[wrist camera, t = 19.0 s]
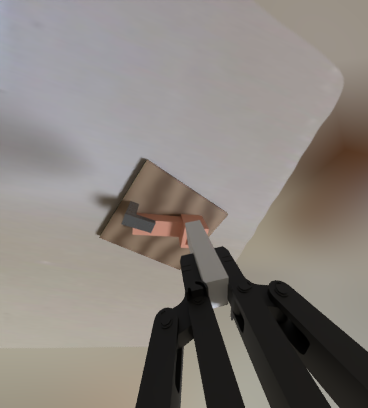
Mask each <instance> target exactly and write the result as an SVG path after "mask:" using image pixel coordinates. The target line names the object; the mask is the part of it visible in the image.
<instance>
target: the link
mask: <svg viewBox="0 0 368 408" xmlns="http://www.w3.org/2000/svg"><path fill="white" fill-rule="evenodd" d="M137 215H140V216H143V217H146V218H149V219H152V220H155V221H156V224H155V226H154V228H153V230H152V232H151V233H149V232H145V231H142V230H139V229H135V228H133V233H132V235H150V236H169V237H179V242H180V247H181V248H189V246H188V241H187V234H186V227H185V223H187V222H192V221H198V220H200V221H201V223H202V225H203V227H204V229H205V231H206V233H207V234H208V231H209V228H208V226H207V224H206V222H205V221H204V219H203V217H202V216H200V215H188V214H181V216H170V215H157V214H145V213H137Z"/></svg>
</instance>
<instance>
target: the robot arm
mask: <svg viewBox="0 0 368 408" xmlns="http://www.w3.org/2000/svg"><path fill="white" fill-rule="evenodd" d="M185 227H186V234H187V241H188V246H189V250H190V254H187V255H182V256H181V259H180V265H181V271H182V276H183V282H184V287H185V297H184V299H183V301H182V302H181V303H180V304H179V305H177V306H176V307H174V308H173V309H172V308H164V309H162V310H160V311H159V312H158V314H157V315H156V317H155V320H154V324H153V328H152V333H151V338H150V342H149V347H148V352H147V356H146V361H145V366H144V371H143V375H142V380H141V384H140V389H139V394H138V398H137V403H136V407H135V408H180V404H181V387H182V369H183V349H184V346H185V345H186V344H187V343H189V341H191V340H192V339H194V341H195V347H196V352H197V357H198V363H199V368H200V374H201V379H202V384H203V389H204V395H205V400H206V405H207V408H245V406H244V403H243V400H242V397H241V394H240V391H239V387H238V384H237V381H236V378H235V375H234V372H233V369H232V366H231V363H230V360H229V357H228V354H227V351H226V347H225V345H224V341H223V338H222V335H221V332H220V329H219V326H218V323H217V320H216V317H215V314H214V311H213V308H216V307H220V306H224V305H227V304H228V301H229V303H230V306H231V320H233V318H234V320H235V323H236V325H237V328H238V330H239V332H240V335H241V337H242V340H243V342H244V344H245V347H246V349H247V352H248V354H249V357H250V359H251V361H252V363H253V366H254V369H255V371H256V373H257V376H258V378H259V381H260V383H261V385H262V388H263V390H264V392H265V395H266V397H267V400H268V402H269V405H270V407H271V408H331V406H330V405H329V403H328V402H327V400H326V398H325V397H324V395H323V394H322V392H321V391H320V389H319V387H318V386H317V384H316V383H315V381H314V380H313V378H312V376H311V375H310V373H311V374H312V375H313V376H314V378H315V379H316V380H317V381H318V382H319V384H320V385H321V386H322V387H323V388H324V390H325V391H326V392H327V393H328V394H329V396H330V397H331V398H332V399H333V400H334V402H335V403H336V404H337V405H338V406H339V408H368V352H367V351H366V350H365V349H364V348H363V347H361V346H360V345H359V344H358V343H357V342H355V341H354V340H353V339H352V338H351V337H350V336H348V335H347V334H346V333H345V332H344V331H342V330H341V329H340V328H339V327H338V326H337V325H335V324H334V323H333V322H332V321H331V320H329V319H328V318H327V317H326V316H325V315H323V314H322V313H321V312H320V311H319V310H318V309H316V308H315V307H314V306H313V305H311V304H310V303H309V302H308V301H307V300H306V299H304V298H303V297H302V296H301V295H300V294H299V293H297V292H296V291H295V290H294V289H292V288H291V287H290V286H289V285H287V284H286V283H284V282H282V281H276V280H275V281H271V283H269V285H257V284H254V283H251V282H250V281H249V280H247V279H246V278H245V277H244V276H243V274H242V272H241V271H240V269H239V267H238V266H237V264H236V262H235V261H234V259H233V258H232V256H231V254H230V253H229V251H228V250H227V249H226V248H224V247H223V246H222V247H218V248H214V247H213V245H212V243H211V241H210V239H209V237H208V235H207V233H206V231H205V229H204V227H203V225H202V223H201V221H200V220H198V221H192V222H187V223H185ZM306 368H307V369H308V370H309V372H310V373H309V372H308V370H307V369H306Z"/></svg>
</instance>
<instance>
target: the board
mask: <svg viewBox="0 0 368 408" xmlns="http://www.w3.org/2000/svg"><path fill="white" fill-rule="evenodd" d="M130 201H133V202H135V203H138V204H139V207H138V210H137V213H145V214H157V215H170V216H181V214H188V215H200V216H202V217H203V219H204V221H205V222H206V224H207V226H208V228H209V231H208V234H207V235H208V237H209V236H210V235H211V234H212V233H213V231H214V230H215V229H216V228H217V227H218V226H219V225H220V223H221V222H222V221H223V220H224V219H225V218H226V217H227V215H228V213H227V212H225V211H224V210H222V209H221V208H219V207H218V206H216V205H215V204H213V203H212V202H210V201H209V200H207V199H206V198H204V197H203V196H201V195H200V194H198V193H197V192H195V191H194V190H192V189H191V188H189V187H188V186H186V185H185V184H183V183H182V182H180V181H179V180H177V179H176V178H174V177H173V176H171V175H170V174H168V173H167V172H165V171H164V170H162V169H161V168H160V167H158V166H157V165H155V164H154V163H152V162H151V161H149V160H148V159H147V161H146V162H145V164H144V165H143V167H142V169H141V170H140V172H139V174H138V175H137V177H136V178H135V180H134V182H133V183H132V185H131V187H130V188H129V190H128V191H127V193H126V195H125V196H124V198H123V200H122V201H121V203H120V204H119V206H118V208H117V209H116V211H115V213H114V214H113V216H112V217H111V219H110V221H109V222H108V224H107V226H106V227H105V229H104V230H103V232H102V234H101V235H100V237H99V238H102V239H104V240H107V241H109V242H112V243H114V244H117V245H119V246H121V247H124V248H126V249H129V250H131V251H134V252H136V253H139V254H141V255H144V256H146V257H149V258H151V259H154V260H156V261H159V262H161V263H164V264H166V265H169V266H171V267H174V268H176V269H179V270H180V269H181V265H180V259H181V256H182V255H187V254H190V250H189V248H181V247H180V242H179V237H169V236H150V235H132V233H133V228H132V227H129V226H125V225H122V224H121V223H122V221H123V218H124V215H125V213H126V210H127V208H128V206H129V203H130Z"/></svg>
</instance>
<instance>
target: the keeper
mask: <svg viewBox="0 0 368 408" xmlns="http://www.w3.org/2000/svg"><path fill="white" fill-rule="evenodd" d="M138 207H139V204H138V203H135V202H133V201H130V203H129V206H128V208H127V210H126V213H125V215H124V218H123V221H122V223H121V224H122V225H125V226H129V227H132V228H135V229H139V230H142V231H145V232H149V233H151V232H152V230H153V228H154V226H155V224H156V221H155V220H152V219H149V218H146V217H143V216H140V215H137V210H138Z"/></svg>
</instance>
